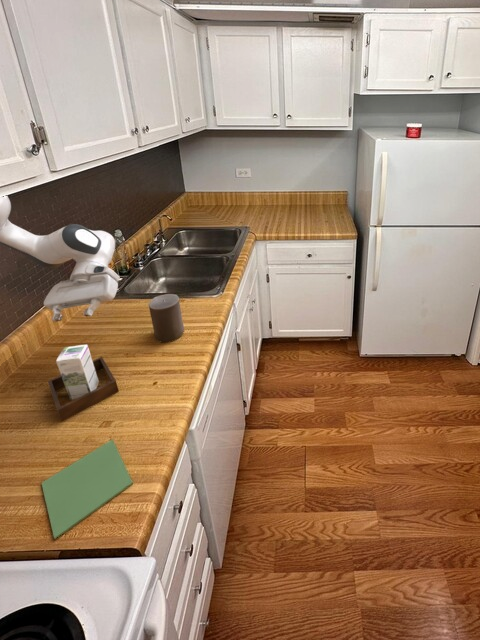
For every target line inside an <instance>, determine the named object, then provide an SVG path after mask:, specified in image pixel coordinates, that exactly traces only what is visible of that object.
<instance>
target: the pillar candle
mask: <svg viewBox="0 0 480 640" xmlns="http://www.w3.org/2000/svg"><path fill="white" fill-rule="evenodd" d="M148 307H149V308H148V310H149V313H150V320H151V324H152V328H153V333H154V338H155V339H156V341H157V340H158V341H157V342H159V341H161V342H160V343H170V342H169V341H171V342H173V341H172V340H174V341H176V340H178V339H180V338H181V337H182V336H183V335H184V333H185V326H184V325H185V324H184V320H183V315H182V314H183V313H182V309H181V308H182V307H181V303H180V297H179V296H178V295H177V294H174V293H166V294H161V295H158V296H155V297H153V298H152V299H150V301H149V302H148ZM183 332H184V333H183ZM182 334H183V335H182ZM181 335H182V336H181ZM180 336H181V337H180ZM177 338H178V339H177ZM175 339H176V340H175Z"/></svg>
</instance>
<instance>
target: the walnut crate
mask: <svg viewBox="0 0 480 640" xmlns="http://www.w3.org/2000/svg"><path fill="white" fill-rule="evenodd" d="M92 361H93V365H94V368H95V371H96V373H98V372H100V371H102V370H103V373H104V374H105V377H106V378H107V379H108V382H107V383H105V384H103V385H101V386H99V387H97V388H96V389H95V390H93V391H91V392H89V393H87V394H85V395H83V396H81V397H79V398H77V399H75V400H70V401H69V402H67V403H65V404H64V405H61V403H60V400H59V397H58V395H57V392H58V391H60V390H62V389H64V388H66V387H65V384H64V382H63V379H62V376H61V374H60V375H57V376H56V377H53V378H51V379H49V380H47V383H48V387H49V390H50V392H51V396H52V399H53V402H54V405H55V408H56V411H57V413H58V417H59V419H60V421H61V422H65V421H66V420H68V419H69V418H72V417H74V416H75V415H78V414H79V413H81V412H83V411H84V410H87V409H88V408H90V407H92V406H95V405H96V404H98V403H100V402H101V401H103V400H105V399H108V398H110V397H111V396H113V395H115V394H116V393H119V387H118V384H117V380H116V379H115V377H114V375H113V374H112V373H113V372H112V371H111V370H110V368H109V366H108V365H107V363H106V361H105V359H104V357H103V356H100V357H98V358H95V359H92Z"/></svg>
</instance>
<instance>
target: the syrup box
mask: <svg viewBox="0 0 480 640" xmlns="http://www.w3.org/2000/svg"><path fill="white" fill-rule="evenodd" d="M92 358H93V357H92V355H91V351H90V349H89V345H88V343H87V344H86V343H85V344H79V345H71V346H65V347H64V348H63V349H62V350H61V351H60V354H59V355H58V357H57V358H56V361H55V363H56V366H57V367H58V371H59V373H60V375H61V376H62V379H63V382H64V384H65V387H64V388H65V389H66V392H67V395H68V398H69V400H70V401H73V400H75V399H77V398H79V397H81V396H83V395H85V394H87V393H89V392H91V391H93V390H95V389H97V388H98V386H99V383H100V380H99V377H98V374H97V372H96V371H95V368H94V365H93V359H92Z"/></svg>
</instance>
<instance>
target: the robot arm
mask: <svg viewBox="0 0 480 640" xmlns="http://www.w3.org/2000/svg"><path fill="white" fill-rule="evenodd" d="M11 203H12V202H11V200H10V198H9V197H8V195H7V196H4V197H0V245H2V246H4V247H7V248H8V249H11V250H14V251H16V252H18V253H20V254H23V255H24V256H26V257H27V258H29V259H31V260H32V261H33V262H35V263H36V264H38V265H39V266H41V267H44V268H49V269H51V268H52V269H53V268H57V267H60V266H62V265H64V264H65V263H67V262H68V261H71V260H74V261H75V265H74V267H73V269H72V272H71V274H70V276H69V279H66V280H61V281H59V282H58V283H56V284H55V285H53V286H52V288H51V289H50V290H49V292H48V294H47V295H46V297H45V298H44V300H43V302H42V303H43V306H44V307H45V308H47V309H48V310H50V311H52V312H53V315H52V317H51V320H52V321H53V322H55V323H56V322H61V321H62V319H63V317H64V315H63V314H61V313H62V312H63V311H64V309H69V308H75V307H81V306H88V305H89V306H88V307H87V308H84V311H83V316H85V317H92V316H93V314H94V312H95V311H96V310H97V309H98V307H99V306H100V305H101V304H102V303H104V302H105V303H106V302H110V301H112V300H113V299H114V298H115V297H116V295H117V291H118V288H119V281H120V279H121V277H120V276H119V274H118V273H116V272H115V271H114V270H113V269H112V268H110V267H109V265H110V264H111V262H112V260H113V257H114V254H115V250H116V239H115V237H114V236H113V235H112V234H111V233H109V232H107V231H105V230H101V229H100V230H91V229H88V228H87V227H86V226H84V225H81V224H77V223H71V224H68V225H66V226H63V227H61V228H59V229H57V230H56V231H53V232H51V233H49V234H45V235H37V234H34V233H32V232H30V231H28V230H26V229H24V228H22V227H20V226H18V225H16V224H14V223H12V222H11V221H10V220H9V217H10V214H11V211H12V204H11Z"/></svg>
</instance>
